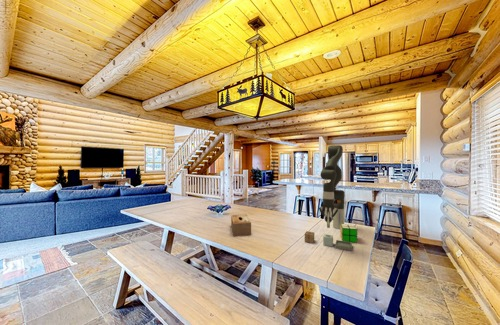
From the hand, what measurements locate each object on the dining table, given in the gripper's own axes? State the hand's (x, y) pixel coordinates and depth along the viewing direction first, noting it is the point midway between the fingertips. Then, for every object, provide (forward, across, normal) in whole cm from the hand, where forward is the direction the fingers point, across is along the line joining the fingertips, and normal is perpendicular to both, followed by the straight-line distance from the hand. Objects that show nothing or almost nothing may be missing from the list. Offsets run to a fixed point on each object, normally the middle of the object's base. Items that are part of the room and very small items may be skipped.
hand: (328, 221), depth 144 cm
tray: (+16, -10, 0) cm, 19 cm away
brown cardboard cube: (+16, +13, 0) cm, 21 cm away
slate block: (+16, 0, 0) cm, 16 cm away
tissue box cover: (+17, +71, +1) cm, 73 cm away
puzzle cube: (+16, -13, -16) cm, 26 cm away
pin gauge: (+4, 0, 0) cm, 4 cm away
